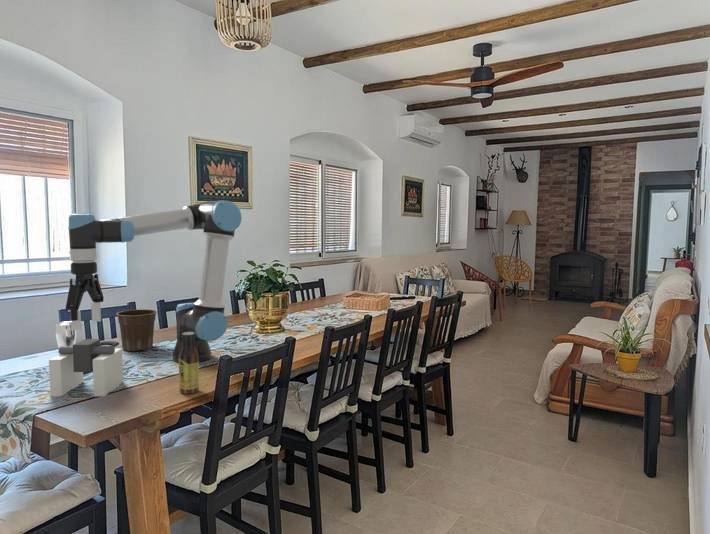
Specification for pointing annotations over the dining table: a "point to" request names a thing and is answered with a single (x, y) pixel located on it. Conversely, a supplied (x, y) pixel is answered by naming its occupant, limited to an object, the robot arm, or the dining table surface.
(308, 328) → the dining table surface
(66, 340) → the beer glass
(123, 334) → the plant pot
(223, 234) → the robot arm
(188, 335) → the sauce bottle
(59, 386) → the shelf stand
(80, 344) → the grey block
